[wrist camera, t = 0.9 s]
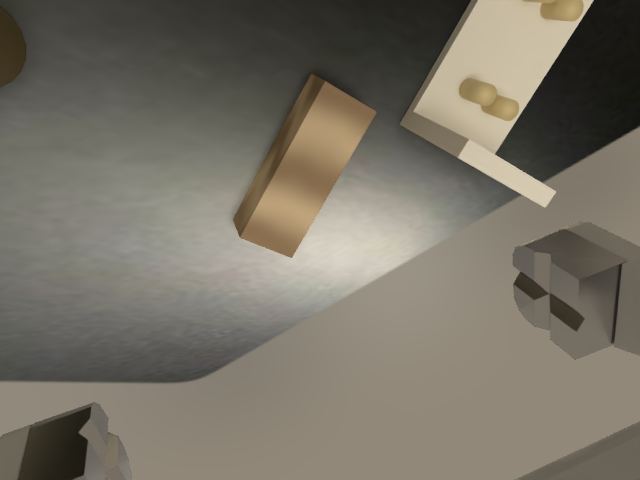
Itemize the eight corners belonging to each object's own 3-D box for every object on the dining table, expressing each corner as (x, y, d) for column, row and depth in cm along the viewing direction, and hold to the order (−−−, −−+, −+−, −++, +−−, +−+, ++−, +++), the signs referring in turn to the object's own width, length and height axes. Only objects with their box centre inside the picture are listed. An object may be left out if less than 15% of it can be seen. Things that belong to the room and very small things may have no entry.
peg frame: (531, -103, 41) (633, -125, 32) (604, -31, 46) (711, -33, 37) (399, 124, 46) (457, 157, 38) (477, 169, 51) (545, 207, 42)
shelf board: (310, 72, 42) (325, 81, 39) (358, 101, 45) (376, 111, 41) (232, 218, 46) (239, 237, 42) (280, 238, 48) (291, 257, 45)
